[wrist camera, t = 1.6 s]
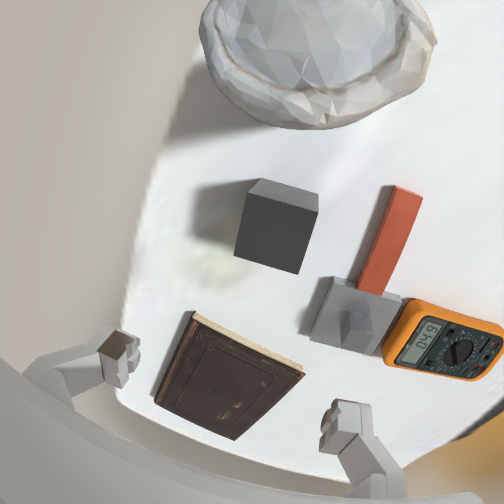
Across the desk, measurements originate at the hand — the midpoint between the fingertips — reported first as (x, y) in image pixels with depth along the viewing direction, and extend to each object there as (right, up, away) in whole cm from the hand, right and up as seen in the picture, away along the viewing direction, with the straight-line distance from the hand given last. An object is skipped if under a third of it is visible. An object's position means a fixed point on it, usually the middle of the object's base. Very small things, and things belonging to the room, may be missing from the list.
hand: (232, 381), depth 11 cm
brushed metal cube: (+4, +9, +18) cm, 21 cm away
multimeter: (+26, -6, +20) cm, 33 cm away
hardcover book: (-4, -15, +32) cm, 35 cm away
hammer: (+13, +3, +19) cm, 23 cm away
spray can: (+7, +20, +13) cm, 25 cm away
